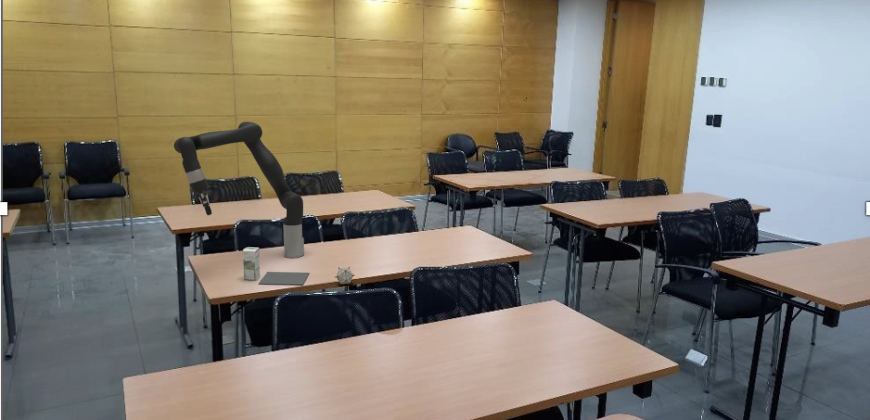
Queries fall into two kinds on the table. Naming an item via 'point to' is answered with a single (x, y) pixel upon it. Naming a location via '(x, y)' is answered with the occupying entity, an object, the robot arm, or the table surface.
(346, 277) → the spiked polyhedron ball
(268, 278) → the mat
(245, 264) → the syrup box
